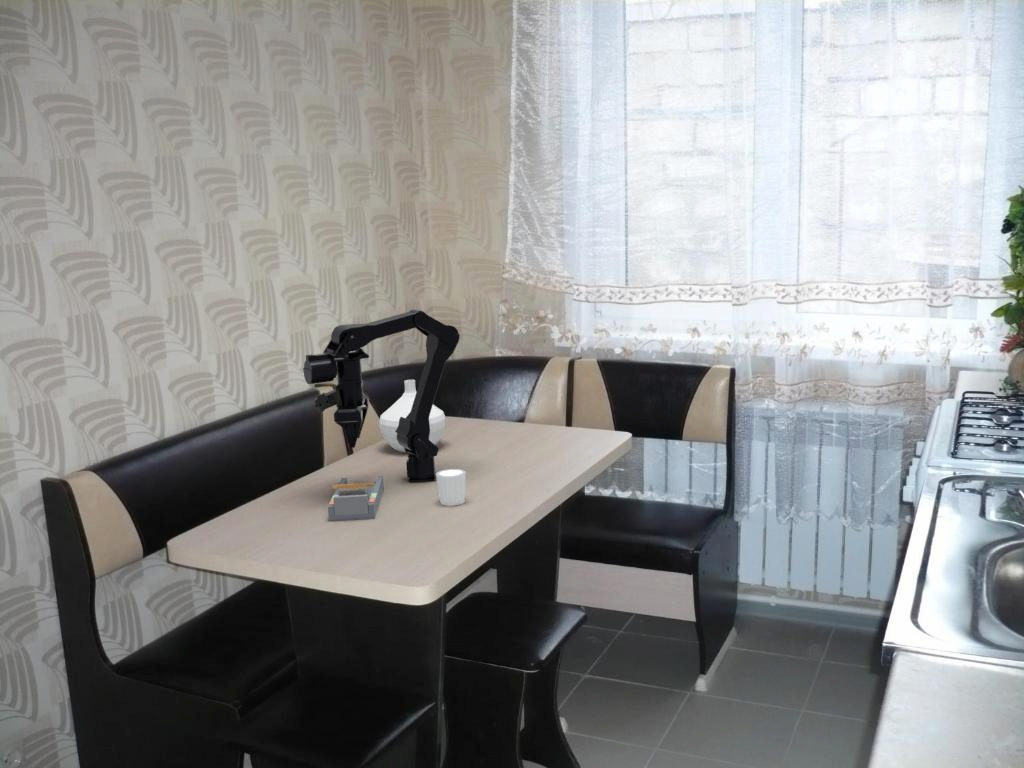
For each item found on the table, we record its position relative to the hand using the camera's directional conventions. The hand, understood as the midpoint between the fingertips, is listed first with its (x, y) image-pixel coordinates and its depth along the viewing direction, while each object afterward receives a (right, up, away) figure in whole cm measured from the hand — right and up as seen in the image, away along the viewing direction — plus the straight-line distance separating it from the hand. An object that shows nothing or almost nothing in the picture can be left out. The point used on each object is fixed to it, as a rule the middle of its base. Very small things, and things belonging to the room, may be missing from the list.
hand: (354, 442), depth 253 cm
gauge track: (+2, -14, -8) cm, 16 cm away
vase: (+10, -4, +41) cm, 42 cm away
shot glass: (+24, -13, -10) cm, 29 cm away
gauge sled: (+2, -13, -14) cm, 19 cm away
